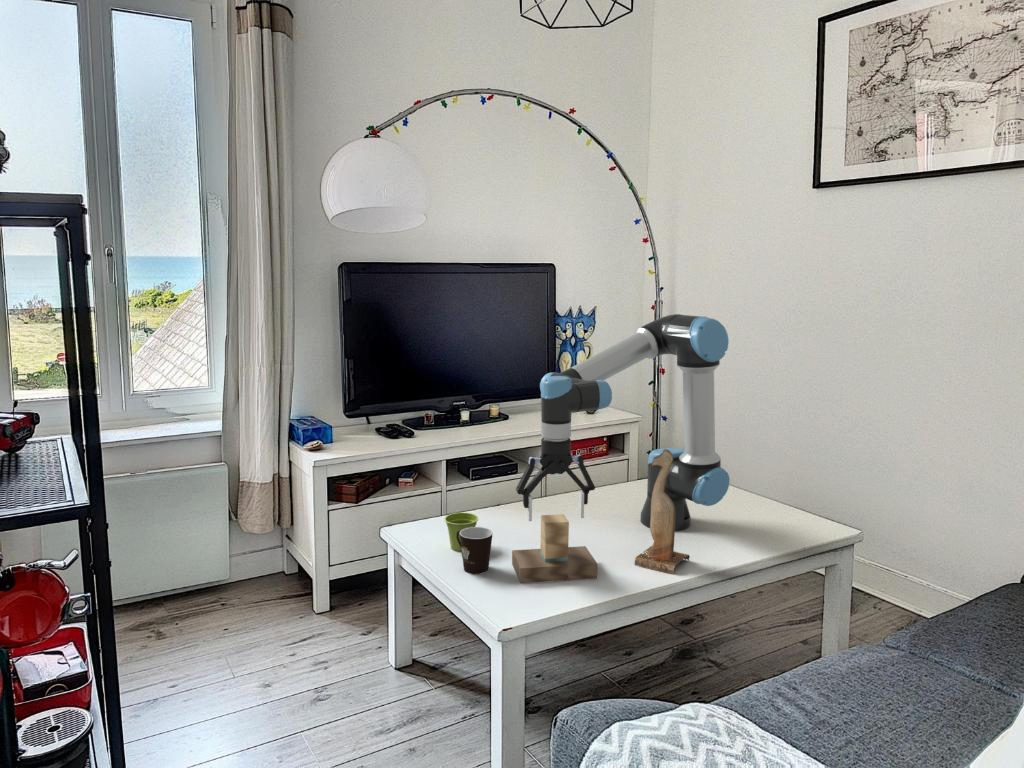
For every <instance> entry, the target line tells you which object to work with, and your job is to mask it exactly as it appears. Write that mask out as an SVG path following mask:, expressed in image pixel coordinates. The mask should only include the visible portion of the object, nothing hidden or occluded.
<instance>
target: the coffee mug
mask: <svg viewBox="0 0 1024 768" xmlns="http://www.w3.org/2000/svg"><path fill="white" fill-rule="evenodd" d="M459 534H460V540H459ZM493 535H494V533H493V530H491V529H489V528H487V527H483V526H475V527H470V528H465V529H463V530H461V531H458V532H457V535H456V537H457V541H458V543H459V545H460V547H461V550H462V551H461V557H462V564H463V565H462V566H463V571H464V572H466V574H467V573H468V574H471V575H482V574H484V573H487V572H488V571H489V568H490V567H489V566H490V558H491V557H490V556H491V551H492V540H493Z"/></svg>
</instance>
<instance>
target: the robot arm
mask: <svg viewBox="0 0 1024 768" xmlns="http://www.w3.org/2000/svg"><path fill="white" fill-rule="evenodd" d="M728 349H729V336H728V331H727V329H726V326H724V325H723V324H722V323H721V322H720V321H719V320H717V319H715V318H710V317H708V316H699V315H688V314H687V315H686V314H680V313H679V314H678V313H676V314H674V313H673V314H669V315H666V316H663V317H659V318H657V319H655V320H653V321H650V322H649V323H647V324H644V325H641V326H640V327H638V328H637V329H636V330H635V331H634V333H633V334H632V335H630V336H628V337H627V338H625V339H623V340H621V341H620V342H617V343H616V344H614V345H611V346H609V347H607V348H606V349H604V350H602V351H600V352H598V353H596V354H595V355H592V356H590V357H588V358H587V359H585V360H583V361H581V362H578V363H577V364H576V365H573V366H571V367H569V368H568V369H566V370H564V371H562V372H556V371H555V372H548V373H546V374H544V376H543V377H542V378H541V380H540V382H539V389H540V399H541V401H540V402H541V403H540V405H541V413H540V414H541V425H540V426H541V428H540V433H541V434H540V435H541V437H542V438H541V440H540V443H541V445H540V446H541V447H540V452H541V453H540V457H533V456H532V455H530V456H529V457H528V460H527V461H528V462H527V465H526V468H525V470H524V471H523V474H522V476H521V478H520V480H519V481H518V483H517V486H516V488H515V491H516V493H517V494H518V495H521V496H522V500H523V501H522V506H523V507H524V509H526V518H527V520H528V522H533V496H532V494H531V493H533V491H534V490H535V489H536V487H538V485H539V484H540V482H542V480H544V478H545V477H547V475H548V474H549V475H551V476H552V475H556V474H559V475H563V474H565V473H567V474H568V475H569V477H570V478H571V479H572V480H573V481H574V483H576V485H577V486H578V487H579V488H580V489H581V490H578V515H577V516H579V517H580V519H584V518H585V505H588V503H589V494H590V491H595V490H596V486H595V484H594V482H593V480H592V478H591V476H590V474H589V472H588V469H586V466H585V463H584V457H583V456H582V455H581V453H577V454H576V455H572V451H571V450H572V445H571V444H572V439H571V437H572V415H573V414H574V413H581V412H588V411H589V412H590V411H599V410H604V409H607V408H608V407H609V406H610V405H611V403H612V401H613V391H612V388H611V385H610V384H609V383H608V382H607V381H606V380H608V379H609V378H612V377H613V376H615V375H617V374H619V373H621V372H624V370H626V369H629V368H630V367H632V366H634V365H635V364H638V363H639V362H641V361H643V360H645V359H649V360H652V359H654V358H657V357H658V356H662V355H674V356H676V366H677V367H678V368H679V369H680V370H681V371H682V395H683V396H682V397H683V398H682V399H683V404H682V405H683V407H682V408H683V444H684V445H683V448H680V447H663V448H657V449H653V450H651V452H650V453H649V455H648V462H647V489H646V491H647V492H646V493H647V494H646V495H647V496H646V499H645V502H644V503H643V507H642V510H641V512H640V519H639V520H640V523H641V524H642V525H643V526H646V527H648V528H650V520H651V499H652V493H653V489H654V485H655V482H656V480H657V477H658V475H659V472H660V470H661V467H658V466H656V467H653V466H652V461H653V458H654V457H656V456H658V455H660V454H661V453H662V452H663V451H664V449H667V450H669V451H670V452H671V453H672V455H673V462H672V464H671V467H670V469H669V472H668V475H667V478H666V483H665V489H664V492H665V493H666V494H667V495H668V496H669V497H670V499H671V500H672V502H673V504H674V506H675V511H676V515H675V531H681V530H686V529H687V528H689V527H690V526H691V521H692V520H691V519H692V518H691V514H690V510H689V506H688V504H687V503H688V502H687V500H688V501H691V502H693V503H695V504H697V505H702V506H706V507H710V506H711V507H712V506H714V505H716V504H718V503H719V502H720V501H722V499H723V498H724V496H726V494H727V492H728V490H729V487H730V475H729V473H728V472H727V471H726V470H725V469H724V468H722V467H721V463H722V462H721V461H722V460H721V456H720V454H718V453H717V452H716V434H715V432H716V430H715V429H716V427H715V422H716V420H715V418H716V417H715V410H716V409H715V370H716V369H717V368H718V367H719V366H720V363H721V362H720V360H722V359H723V358H724V357H725V355H726V352H727V351H728ZM572 462H574V464H575V465H577V467H578V468H579V471H580V472H581V475H582V477H583V478H584V480H585V483H586V485H585V484H584V483H583V482H582V481H581V480H580V479H579V477H578V476H577V475H576V474H575V473H574V471H572V469H571V468H570V466H571V464H572ZM539 463H540V465H541V467H540V468H539V470H538V471H537V473H536V474H535V476H533V478H532V479H531V480H530V478H531V475H532V474H533V471H534V469H535V467H536V466H538V464H539ZM529 480H530V481H529ZM528 481H529V482H528Z"/></svg>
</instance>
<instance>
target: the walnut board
mask: <svg viewBox="0 0 1024 768" xmlns="http://www.w3.org/2000/svg"><path fill="white" fill-rule="evenodd" d="M540 550H541V548H532V549H530V548H529V549H514V550H513V549H512V551H511V565H512V568H513V570H514V572H515V575H516V577H517V579H518V582H519V584H531V583H549V582H550V583H551V582H561V581H562V582H564V581H577V580H579V581H580V580H581V581H582V580H593V579H594V580H596V579H598V564H599V563H598V562H597V561H596V559H595V558H594V556H593V555H592V553H591V552H590V551H589V549H588V548H587V547H586V545H583V546H582V545H581V546H568V561H556V562H545V561H544V559H543V557H542V555H541V554H540Z"/></svg>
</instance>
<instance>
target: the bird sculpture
mask: <svg viewBox="0 0 1024 768" xmlns="http://www.w3.org/2000/svg"><path fill="white" fill-rule="evenodd" d="M672 462H673V455H672V453H671V452H670V451H669V450H667V449H664V451H663V452H662V453H661V454H660V455H658V456H656V457H654V458H653V461H652V466H653V467H656V466H658V467H661V470H660V472H659V475H658V477H657V480H656V482H655V485H654V489H653V493H652V499H651V520H650V527H649V531H650V534H651V535H650V536H651V537H652V540H653V543H652V545H651V546H649V547H648V548H647V549H645V550H644V551H643V552H641V553H640V554H638V555H636V556H635V558H634V566H635V567H636V566H638V567H642V568H646V569H648V570H649V569H650V570H653V571H659V572H662V573H666V574H670V575H674V572H675V569H676V566H677V565H678V564H679V563H680V562H681V561H683V560H685V561H686V560H687V561H688V562H690V554H687V553H683V552H679V551H675V549H674V548H675V535H676V534H675V533H676V530H675V515H676V511H675V506H674V504H673V502H672V500H671V499H670V497H669V496H668V495H667V494H666V493H665V492H664V489H665V483H666V478H667V475H668V472H669V469H670V467H671V464H672Z"/></svg>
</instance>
